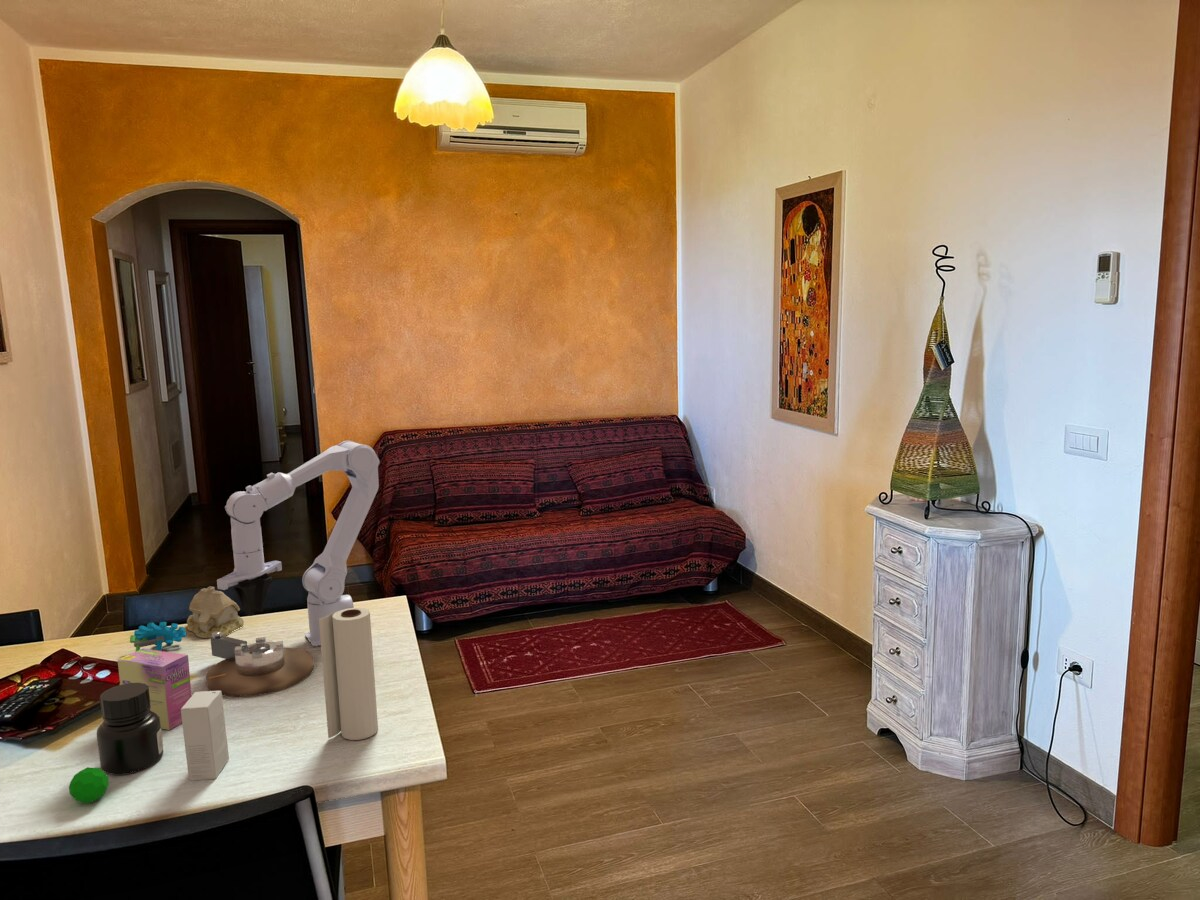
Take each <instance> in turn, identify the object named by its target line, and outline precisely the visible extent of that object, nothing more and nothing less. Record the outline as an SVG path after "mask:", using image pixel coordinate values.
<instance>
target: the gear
mask: <svg viewBox="0 0 1200 900" xmlns="http://www.w3.org/2000/svg"><path fill="white" fill-rule="evenodd" d="M133 633H134V634H132V635H129V636H130V637H129V638H130V639H129V643H130V644H133V647H135V652H136V651H138V650H141V648H143V647H148V646H156V647H155V650H157V651H162V646H163V643H165V644H166V645H168V646H169V645H172V644H173V645H174V642H178V643H181V642H182V640H183V638H187V632H186V627H184V626H179V624H178V623H175V622H174V623H173V622H172V623H171V624H170V626H167V621H160V622H159V625H157V624H155V623H154V622H148V623H147V625H140V626H139V625H138V629H135V630H134V632H133Z"/></svg>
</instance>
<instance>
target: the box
mask: <svg viewBox="0 0 1200 900" xmlns="http://www.w3.org/2000/svg"><path fill="white" fill-rule="evenodd" d="M189 661H190V659H189V655H188V654H183V653H176V652H170V651H164V650H163V651H162V650H161V651H157V650H156V649H150V648H140V650H138V651H136V650H135V651H133V652H132V653H129V654H128V655H125V656H123V657H120V658H118V660H117V665H118V666H117V667H118V677H119V685H122V684H128V683H145V684H146V685H148V687H149V696H150V705H151V708H150V710H151V711H152V712H154V713H156V714H157V715H158V716H159V719H160V725H161V730H162V729H163V730H166V731H170V730H173V729H174V728H176V727H178V726H180V725H181V724H182V717H181V708H182V707H183V706H184V705H185V704H186V702H187V701H188V700H189V699H190V698H191V696H192V695H193V694H192V684H191V676H190V675H191V672H190V663H189Z"/></svg>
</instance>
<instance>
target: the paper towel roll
mask: <svg viewBox="0 0 1200 900" xmlns="http://www.w3.org/2000/svg"><path fill="white" fill-rule="evenodd" d="M371 624H372V621H371V612H370V610H369V609H367V608H364V607H354V608H349V609H344V610H340V611H337V612H334V613H332V614H330V615H328V616H326V617H324V618H321V619H319V628H320V640H321V645H320V649H321V650H320V651H321V664H322V676H323V687H324V699H325V700H324V701H325V711H326V712H325V713H326V725H327V735H328V736H327V737H328V739H330V738H334V737H335V736H336V735H338V734H339V733H341V736H342V738H344V739H346V740H349V741H359V740H364V739H367V738H369V737H373V736H374V735H376V733H377V732H378V730H379V726H378V723H379V722H378V711H377V694H376V680H375V667H374V666H375V665H374V654H373V653H374V650H373V637H372V635H373V634H372V625H371Z"/></svg>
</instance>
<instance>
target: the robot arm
mask: <svg viewBox="0 0 1200 900" xmlns="http://www.w3.org/2000/svg"><path fill="white" fill-rule="evenodd" d="M380 461H381V460H380V459H379V457H378V455H377V453H376V452H375V450H374V449H373V447H372V446H369V445H368V444H361V443H357V442H355V441H353V440H344V441H341V442H340V443H338V444H336V445H333V446H330V447H329V448H328V449H326V450H324V451H323V452H321V453H320V454H318V455H317V456H315V457H313V458H311V459H310V460H308V461H306V462H304V463H303V464H302V465H300V466H297V468H294V469H293V470H292V471H290V472H288V473H284V472H279V471H278V472H277V473H273V472H270V473H268V474H266V478H265V479H263V480H262V481H260V482H257V483H255V484H253V485H247V486H245V490H246V491H244V490H243V491H241V490H240V491H235V492H234V493H231V495H230V496H229V498H228V499H227V501H226V505H225V506H224V509H225V511H226V514H227V515H228V516H229V517H230V526H231V529H230V531H231V532H230V534H231V546H232V553H233V565H234V568H233V571H232V572H231V573H227V575H224V576H222V577H221V578H218V579H216V585H217V590H223V591H225V590H229V588H231V590H232V591H233V592H234V594H235V595H236V597H237V599H238V600H239V602H240V604H241V606H242V610H243V612H244V615H246V616H254V615H255V612H259V613H262V612H264V608H265V602H266V597H267V594H268V593H267V592H268V591H269V589H270V586H271V584H272V582H273V577H272V576H270V575H268V574H272V573H274V572H280V571H282V570H283V566H282V561H279V560H272V561H268V562H265V557H264V547H263V546H264V542H263V536H262V535H263V534H262V526H261V517H262V515H263V514H264V512H267V511H268V510H269V509H271V508H273V507H275V506H276V505H279V504H280V503H282V502H284V501H285V500H287V499H289V498H291V497H293V495H294V494H295V491H296V488H297V487H300V486H302V485H303V484H305V483H307V482H309V481H311V480H313V479H315V478H318V477H319V476H321V475H323V474H326V473H327V472H329V471H337V472H338V471H339V472H344V473H345V474H346V476H347V478H348V481H349V483H350V484H351V490H350V492H349V493H348V496H347V498H346V501H345V503H344V505H343V507H342V510H341V511H340V513H339V515H338V518H337V520H336V523H335V524H334V527H333V529H332V532H331V534H330V536H329V538H328V541H327V543H326V545H325V547H324V549H323V551H322V553H320V554H319V555H317V557H316V558H315V559H314V560H313V563H312V564H311V566H309V568H307V569H306V570H305V571H304V573H303V575H302V578H301V579H302V580H301V581H302V586H303V588H304V589H305V590H306V592H308V595H307V598H306V600H307V601H306V602H307V603H306V604H307V613H308V614H307V615H308V628H309V632H306V633H305V635H304V636H305V637H307V638H308V639H307V638H306V639H307V640H308V641H309V643H310V642H311V643H310V644H311V645H312V647H319V646H321V640H320V628H319V619H321V618H324V617H326V616H328V615H330V614H332V613H334V612H337V611H340V610H344V609H349V608H355V607H354V603H353V602H354V601H353V599H352V596H351V595H350V594H343V593H344V591H345V586H346V585H345V580H346V576H347V574H348V568H347V560H348V559H349V558H348V557H349V556H350V553H351V551H352V548H353V547H354V544H355V542H356V540H357V538H358V536H359V534H360V531H361V529H362V526H363V524H364V522H365V519H366V517H367V515H368V513H369V511H370V509H371V506H372V504H373V502H374V499H375V498H376V495H377V493H378V490H379V488H380V485H379V465H380V463H381V462H380ZM318 645H319V646H318Z"/></svg>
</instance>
